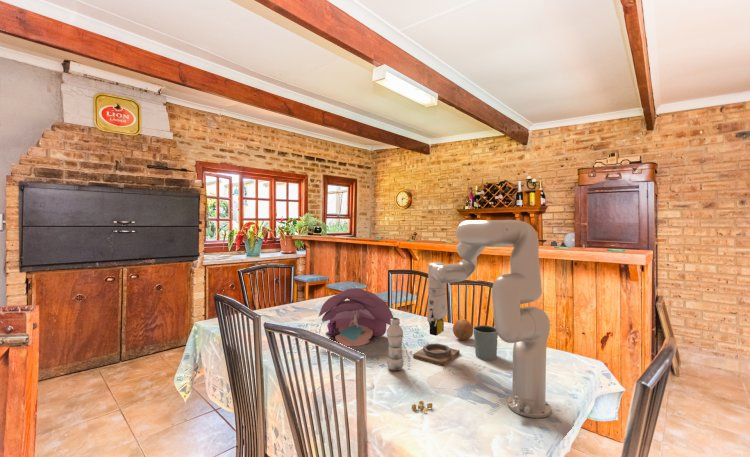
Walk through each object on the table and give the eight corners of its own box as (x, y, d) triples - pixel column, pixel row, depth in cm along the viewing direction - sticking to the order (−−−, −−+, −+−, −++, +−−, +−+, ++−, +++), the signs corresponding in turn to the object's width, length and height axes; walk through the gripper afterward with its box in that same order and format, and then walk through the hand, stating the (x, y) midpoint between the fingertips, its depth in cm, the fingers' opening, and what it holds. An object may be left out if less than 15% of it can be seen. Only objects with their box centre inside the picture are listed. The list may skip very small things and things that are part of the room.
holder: (443, 366, 141) (443, 358, 140) (413, 357, 149) (413, 350, 149) (459, 353, 153) (459, 346, 153) (430, 346, 162) (431, 339, 162)
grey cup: (499, 362, 145) (499, 333, 144) (474, 360, 147) (474, 331, 146) (496, 352, 155) (496, 325, 154) (472, 351, 157) (472, 324, 156)
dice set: (410, 411, 109) (410, 405, 109) (419, 404, 113) (419, 398, 113) (424, 417, 106) (424, 410, 106) (433, 409, 110) (433, 403, 110)
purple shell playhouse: (325, 359, 159) (320, 303, 152) (317, 333, 181) (312, 283, 174) (397, 344, 169) (395, 290, 162) (381, 321, 191) (379, 272, 184)
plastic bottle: (389, 373, 134) (389, 322, 133) (384, 366, 140) (384, 317, 140) (405, 371, 135) (405, 320, 135) (399, 364, 142) (399, 315, 141)
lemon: (434, 332, 155) (434, 314, 155) (445, 335, 151) (445, 316, 151) (427, 335, 151) (427, 317, 150) (439, 338, 147) (439, 319, 147)
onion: (471, 336, 176) (471, 316, 176) (474, 343, 166) (475, 322, 166) (451, 335, 177) (451, 316, 176) (454, 342, 167) (454, 322, 167)
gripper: (435, 296, 141) (435, 340, 142) (453, 289, 155) (453, 329, 156) (419, 293, 146) (419, 336, 146) (438, 286, 159) (437, 326, 160)
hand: (436, 332), depth 151 cm, fingers closed on lemon, 5 cm apart
